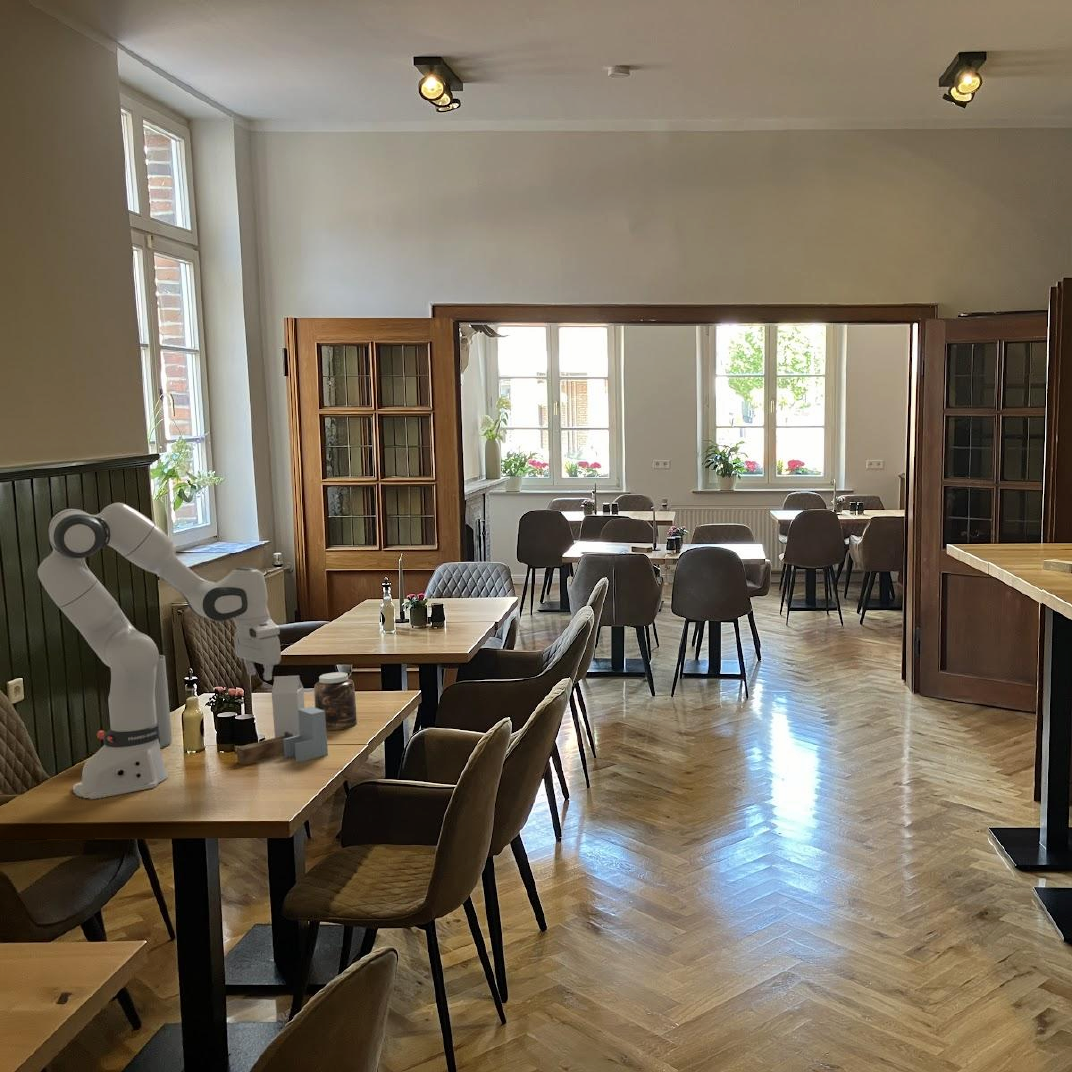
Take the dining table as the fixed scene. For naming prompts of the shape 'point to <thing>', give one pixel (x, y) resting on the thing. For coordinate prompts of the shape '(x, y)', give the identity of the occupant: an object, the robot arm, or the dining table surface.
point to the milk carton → (287, 704)
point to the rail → (262, 750)
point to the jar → (336, 700)
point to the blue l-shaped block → (308, 736)
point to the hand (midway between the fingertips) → (259, 677)
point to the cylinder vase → (162, 703)
